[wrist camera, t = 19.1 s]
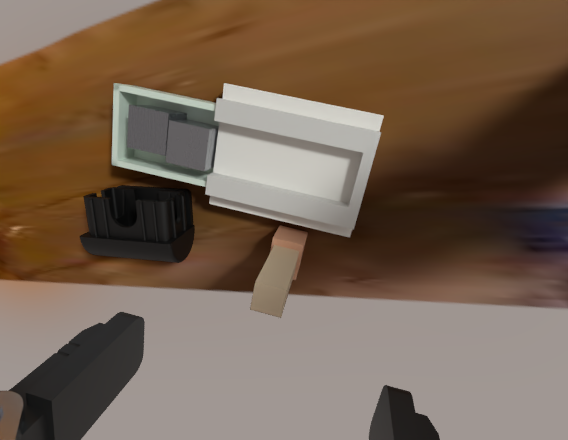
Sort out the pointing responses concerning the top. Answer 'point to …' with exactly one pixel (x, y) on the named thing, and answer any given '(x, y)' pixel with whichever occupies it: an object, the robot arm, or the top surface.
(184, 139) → the grey cube block
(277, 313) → the two-tone stepped bar
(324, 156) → the slot board
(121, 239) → the end cap
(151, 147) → the dark grey cube
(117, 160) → the tray
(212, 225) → the top surface
